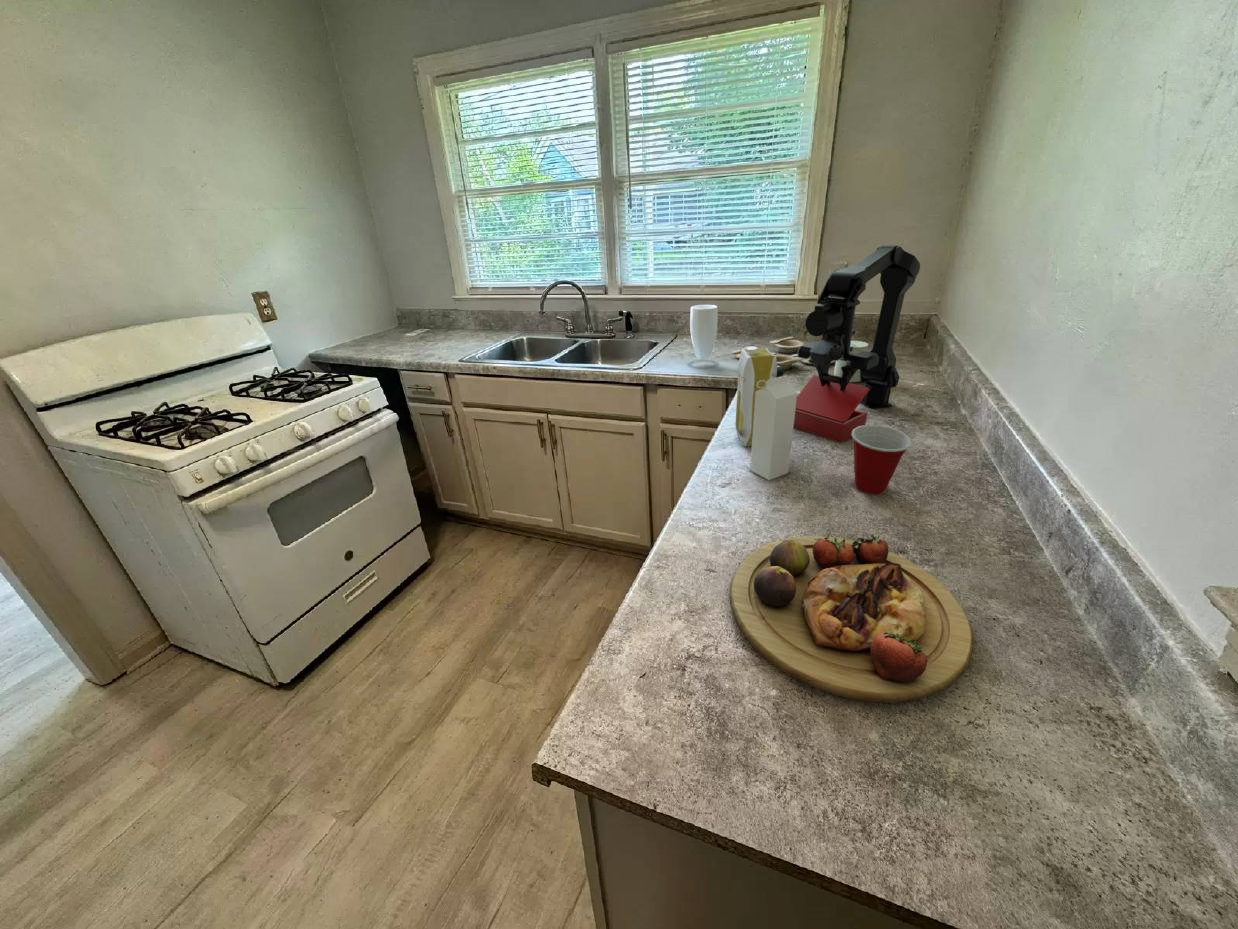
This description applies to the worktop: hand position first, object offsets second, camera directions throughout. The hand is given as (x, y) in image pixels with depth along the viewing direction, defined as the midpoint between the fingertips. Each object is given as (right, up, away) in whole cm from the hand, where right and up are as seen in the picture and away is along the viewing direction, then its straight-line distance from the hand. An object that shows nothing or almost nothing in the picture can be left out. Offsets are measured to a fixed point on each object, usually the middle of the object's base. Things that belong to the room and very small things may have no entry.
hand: (832, 388), depth 126 cm
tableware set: (+9, +21, +64) cm, 68 cm away
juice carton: (-20, -13, 0) cm, 25 cm away
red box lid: (-1, -3, +1) cm, 3 cm away
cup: (-22, +19, +64) cm, 71 cm away
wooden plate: (-22, -41, -54) cm, 71 cm away
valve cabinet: (0, -10, +4) cm, 11 cm away
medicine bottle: (-10, -3, +21) cm, 23 cm away
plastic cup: (-2, -25, -24) cm, 34 cm away
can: (+22, +9, +39) cm, 46 cm away
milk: (-21, -21, -15) cm, 33 cm away
